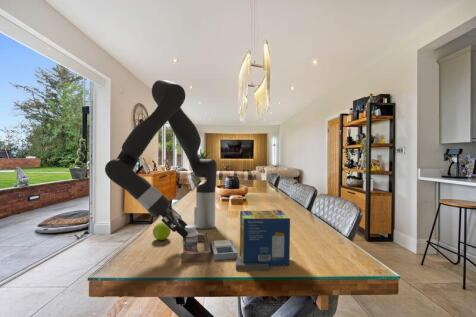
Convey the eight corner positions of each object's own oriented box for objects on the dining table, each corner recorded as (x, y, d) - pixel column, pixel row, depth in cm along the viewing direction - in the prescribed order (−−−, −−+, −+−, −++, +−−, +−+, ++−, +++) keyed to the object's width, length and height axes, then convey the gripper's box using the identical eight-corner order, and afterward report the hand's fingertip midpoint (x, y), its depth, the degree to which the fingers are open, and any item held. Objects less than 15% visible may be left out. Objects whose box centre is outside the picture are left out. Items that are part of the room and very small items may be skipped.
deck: (214, 260, 78) (214, 253, 78) (210, 246, 89) (210, 240, 89) (237, 258, 79) (237, 251, 79) (231, 245, 91) (231, 239, 91)
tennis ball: (172, 240, 95) (172, 223, 95) (154, 243, 91) (154, 226, 91) (168, 235, 101) (168, 219, 101) (151, 238, 97) (151, 221, 97)
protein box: (239, 253, 83) (239, 210, 83) (281, 252, 85) (281, 210, 84) (242, 267, 73) (242, 218, 73) (290, 266, 74) (291, 217, 74)
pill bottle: (184, 247, 88) (184, 224, 88) (198, 247, 89) (198, 224, 89) (182, 253, 83) (182, 228, 83) (196, 253, 83) (197, 228, 83)
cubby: (180, 262, 76) (181, 254, 76) (182, 241, 95) (182, 234, 95) (210, 260, 78) (211, 252, 78) (206, 239, 97) (206, 233, 97)
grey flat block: (235, 269, 71) (235, 264, 71) (236, 262, 76) (236, 258, 76) (268, 271, 71) (268, 266, 71) (267, 264, 76) (267, 259, 76)
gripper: (159, 197, 77) (194, 230, 79) (164, 191, 91) (193, 219, 93) (142, 214, 76) (178, 247, 78) (149, 205, 90) (180, 233, 92)
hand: (186, 231), depth 85 cm, fingers open, 8 cm apart
